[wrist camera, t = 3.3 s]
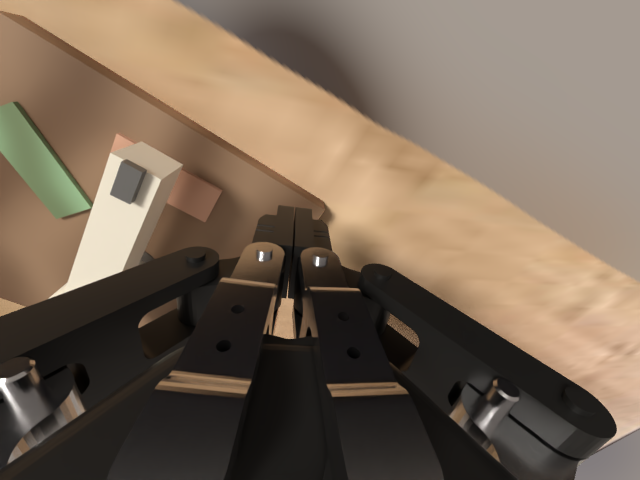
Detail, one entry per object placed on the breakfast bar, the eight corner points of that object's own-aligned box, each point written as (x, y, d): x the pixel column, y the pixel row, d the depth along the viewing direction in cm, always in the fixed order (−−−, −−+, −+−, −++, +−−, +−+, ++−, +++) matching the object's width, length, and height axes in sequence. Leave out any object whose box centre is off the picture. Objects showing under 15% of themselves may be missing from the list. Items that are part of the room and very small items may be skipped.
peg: (215, 162, 16) (175, 200, 11) (144, 306, 21) (91, 380, 16) (144, 120, 15) (60, 141, 10) (85, 283, 20) (7, 355, 15)
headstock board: (323, 201, 20) (325, 211, 18) (214, 355, 26) (208, 372, 25) (19, 14, 14) (-16, 5, 12) (-21, 270, 21) (-48, 285, 19)
